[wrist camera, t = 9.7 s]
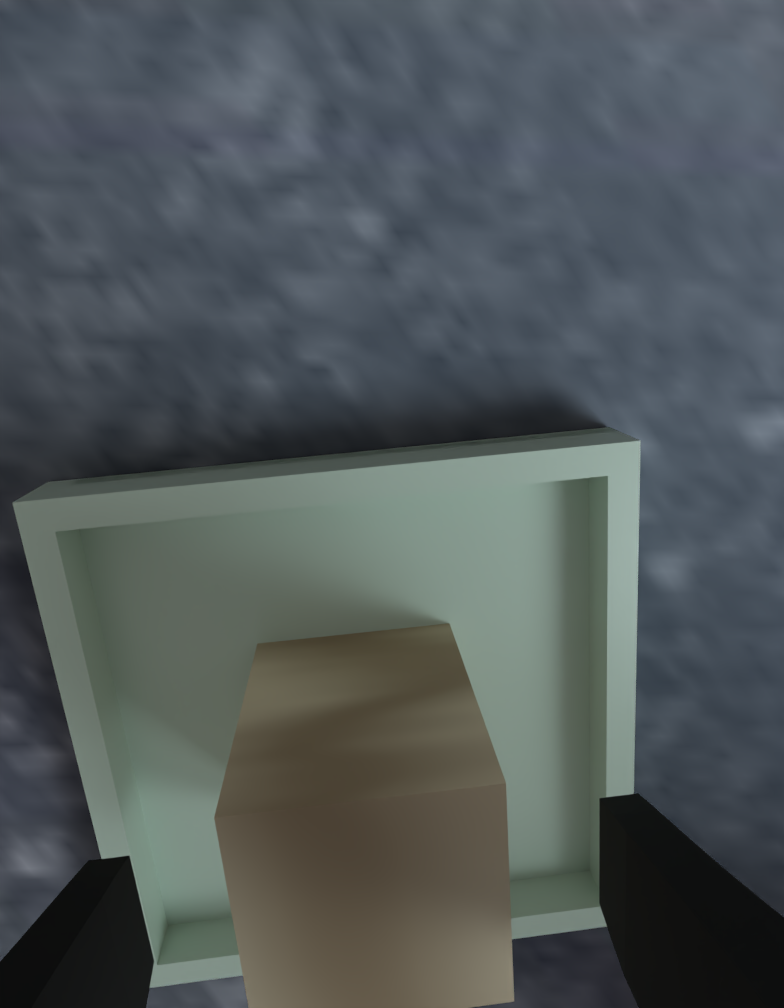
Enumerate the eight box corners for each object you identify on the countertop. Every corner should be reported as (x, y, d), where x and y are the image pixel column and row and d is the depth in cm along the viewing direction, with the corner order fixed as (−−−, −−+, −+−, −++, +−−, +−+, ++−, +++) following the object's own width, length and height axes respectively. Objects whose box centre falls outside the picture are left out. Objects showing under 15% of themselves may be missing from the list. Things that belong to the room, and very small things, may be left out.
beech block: (449, 623, 14) (506, 783, 9) (459, 784, 15) (514, 1001, 10) (257, 643, 14) (213, 817, 9) (281, 805, 15) (253, 1037, 10)
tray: (608, 427, 14) (640, 440, 12) (606, 871, 17) (631, 923, 15) (47, 481, 13) (12, 502, 12) (152, 929, 16) (134, 989, 15)
